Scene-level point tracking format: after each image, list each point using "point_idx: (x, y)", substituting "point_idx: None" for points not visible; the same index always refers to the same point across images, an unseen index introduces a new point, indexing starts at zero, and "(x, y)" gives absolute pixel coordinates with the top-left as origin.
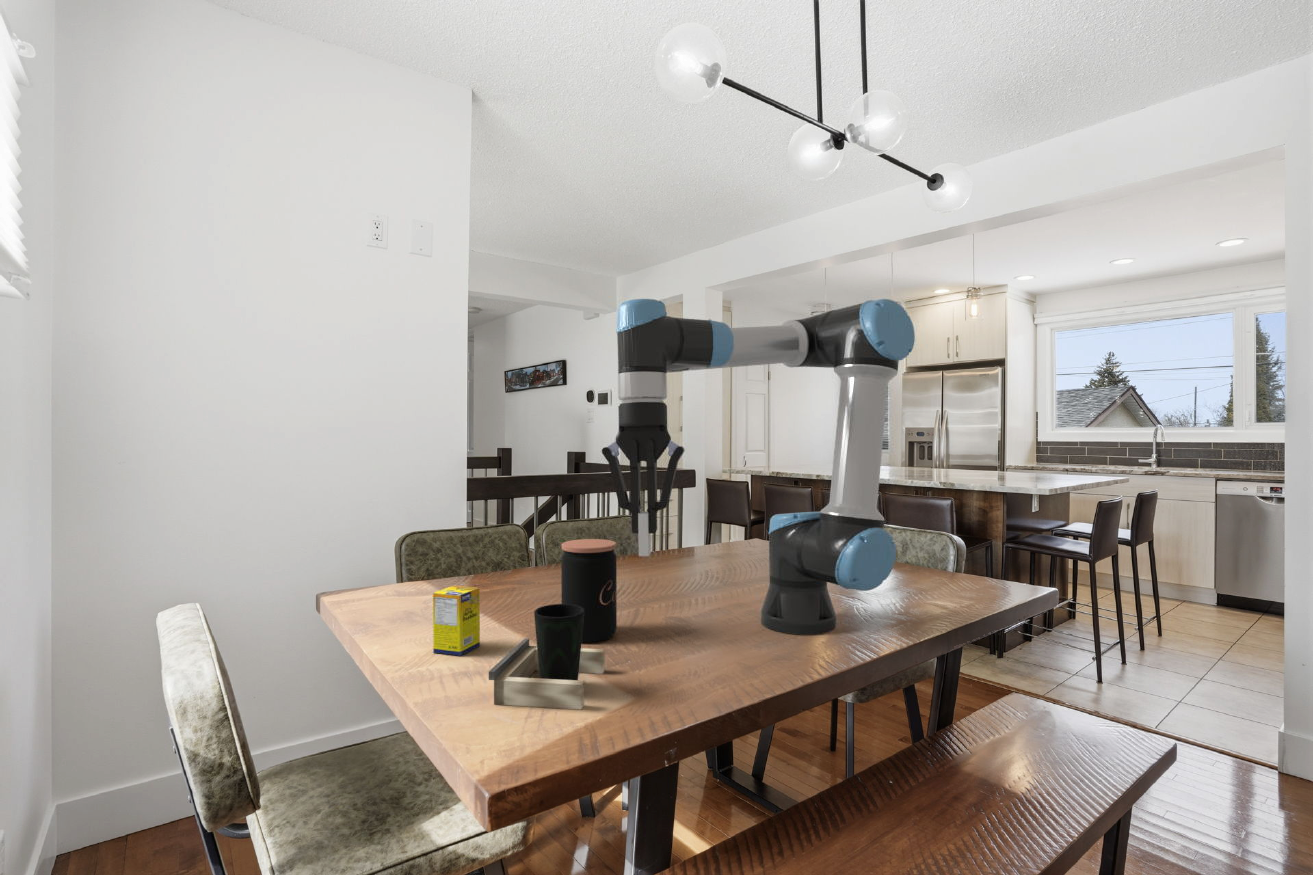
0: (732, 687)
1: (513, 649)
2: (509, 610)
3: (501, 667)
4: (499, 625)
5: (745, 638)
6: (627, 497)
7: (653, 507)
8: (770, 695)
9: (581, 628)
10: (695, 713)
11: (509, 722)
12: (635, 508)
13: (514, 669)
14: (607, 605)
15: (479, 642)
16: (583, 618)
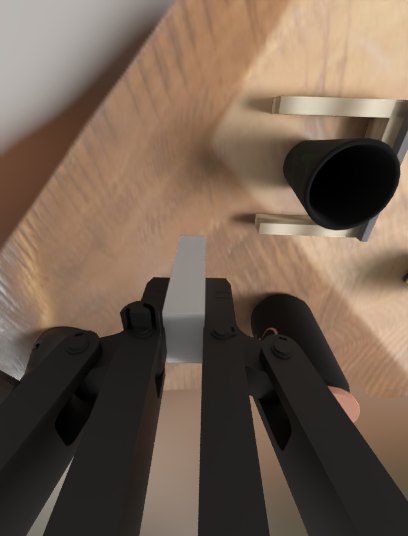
0: (104, 188)
1: None
2: (366, 368)
3: (403, 133)
4: (377, 333)
5: (118, 316)
6: (265, 414)
7: (130, 335)
8: (58, 169)
9: (301, 175)
10: (131, 103)
11: (369, 38)
12: (217, 330)
13: None
14: (265, 329)
15: (405, 281)
16: (302, 187)
